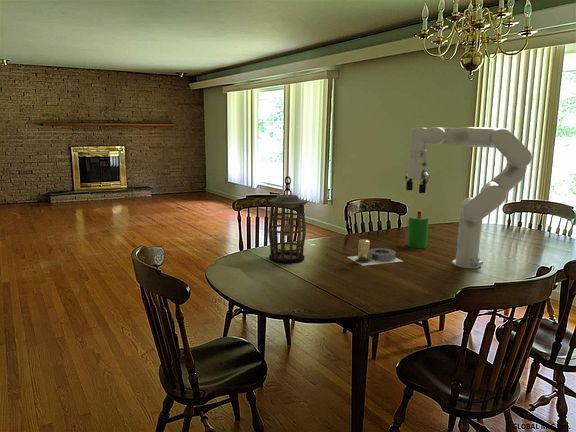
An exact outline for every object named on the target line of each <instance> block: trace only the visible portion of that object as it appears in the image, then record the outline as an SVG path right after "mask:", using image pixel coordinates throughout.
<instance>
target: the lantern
mask: <svg viewBox="0 0 576 432" xmlns="http://www.w3.org/2000/svg"><path fill="white" fill-rule="evenodd" d="M287 179H288V180H289V181H287ZM284 183H285V188H284V191H283V194H278V195H277V196H276V198H272V199H270V200H269V201H268V202H266V203H267V204H268V205H270V213H269V221H268V230H267V232H268V240H269V246H270V247H269V251H270V255H269V260H270V262H271V261H273V262H272V263H275V262H276V263H275V264H278V263H282V264H281V265H293V264H292V263H296V264H300V263H303V262H302V261H304V260H305V255H304V250H305V241H306V235H307V231H306V230H307V226H306V225H307V224H306V219H305V218H306V216H305V206H306V204H307V203H308V201H306V200H304V199H302V198H301V199H300V198H299V195H295V194H292V193H293V192H292V190H291V183H292V179H291V177H290V176H289V175H287V176H285V178H284ZM286 192H289V194H286ZM279 208H281V212H279ZM294 208H296V212H294ZM279 216H281V217H279ZM294 216H296V217H294ZM278 221H280V224H278ZM295 221H297V225H296V224H294V222H295ZM278 228H280V230H278ZM294 228H297V230H295V229H294ZM278 234H280V242H278V241H279V240H278V238H279V237H278ZM294 234H297V235H296V236H297V237H296V238H297V239H296V242H294ZM287 236H288V237H289V242H286V237H287ZM279 245H280V248H279ZM286 245H289V249H286ZM294 246H295V247H296V249H294Z"/></svg>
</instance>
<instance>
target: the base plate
mask: <svg viewBox="0 0 576 432" xmlns="http://www.w3.org/2000/svg"><path fill="white" fill-rule="evenodd" d="M347 258H348V259H349V260H351V261H353V262H355V263H356V264H359V265H360V266H364V267H365V266H370V265H371V266H372V265H381V264H383V265H384V264H390V263H401V262H403V260H401V259H399V258H397V257H395V260H393V261H376V260H372V259H370V258H369V261H368V262H361V261H358V255H354V256H347Z"/></svg>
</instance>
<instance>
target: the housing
mask: <svg viewBox="0 0 576 432" xmlns="http://www.w3.org/2000/svg"><path fill="white" fill-rule="evenodd" d="M396 255H397V253H396V251H395V250H393V249H389V248H381V247H380V248H378V247H376V248H371V249H370V248H369V258H370V259H372V260H376V261H393V260H395V258H397V256H396Z"/></svg>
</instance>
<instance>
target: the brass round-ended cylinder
mask: <svg viewBox="0 0 576 432" xmlns="http://www.w3.org/2000/svg"><path fill="white" fill-rule="evenodd" d="M370 241H371V240H369V239H364V238H362V239H358V248H357V249H358V252H357V254H358V255H357V256H358V261H361V262H368V261H369V250H370V245H371V244H370V243H371V242H370Z"/></svg>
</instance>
